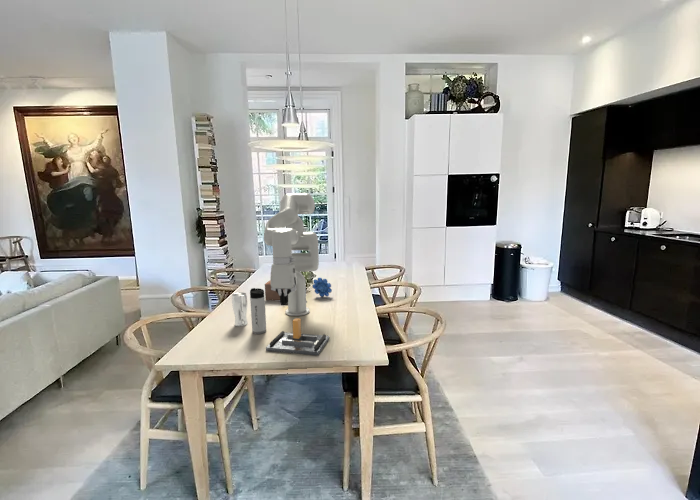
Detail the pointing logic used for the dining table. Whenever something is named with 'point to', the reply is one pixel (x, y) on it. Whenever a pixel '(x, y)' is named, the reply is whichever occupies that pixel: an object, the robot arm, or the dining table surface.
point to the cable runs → (284, 332)
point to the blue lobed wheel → (322, 287)
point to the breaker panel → (298, 344)
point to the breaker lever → (297, 329)
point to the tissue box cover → (270, 292)
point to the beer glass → (240, 308)
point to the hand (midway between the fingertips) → (284, 304)
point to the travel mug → (258, 311)
